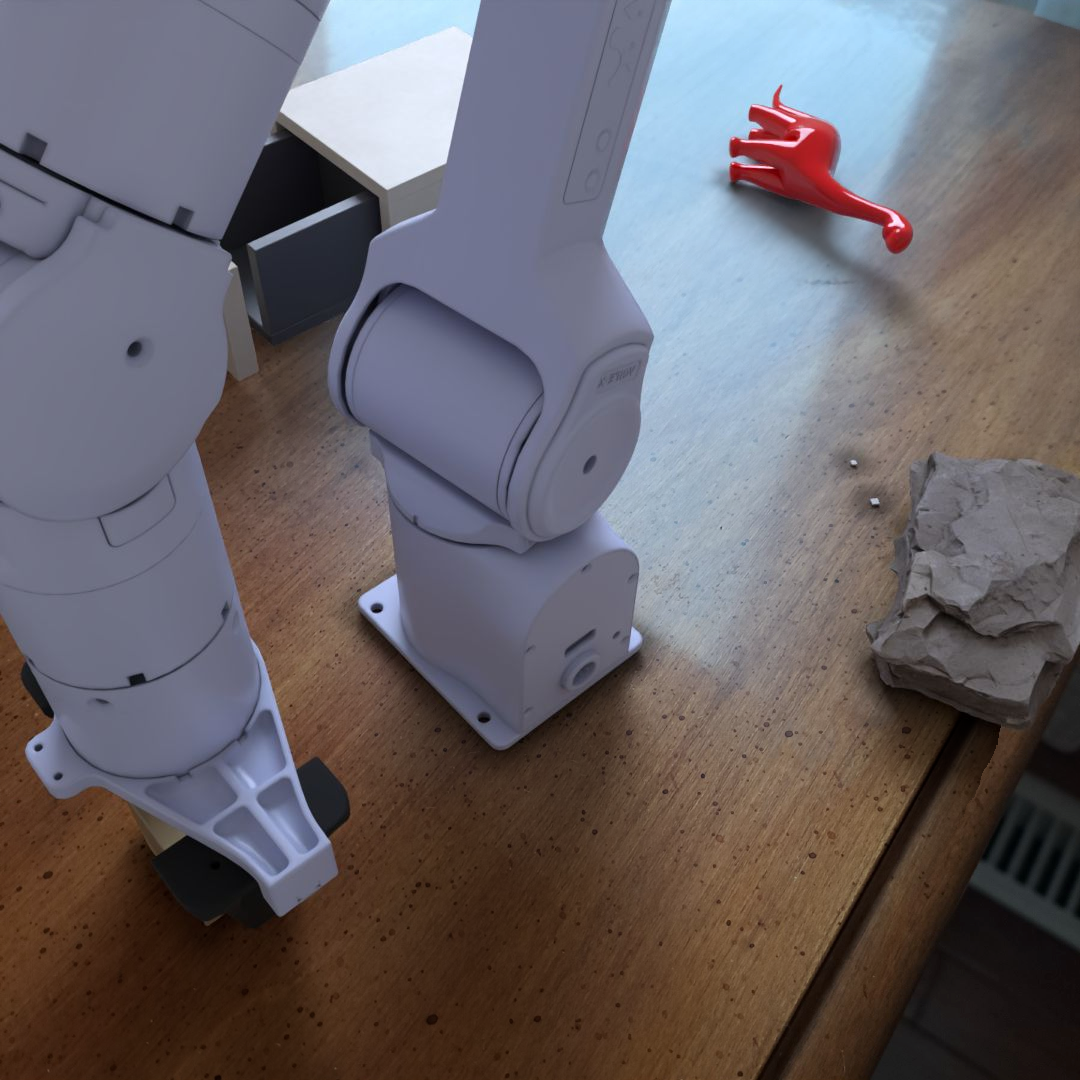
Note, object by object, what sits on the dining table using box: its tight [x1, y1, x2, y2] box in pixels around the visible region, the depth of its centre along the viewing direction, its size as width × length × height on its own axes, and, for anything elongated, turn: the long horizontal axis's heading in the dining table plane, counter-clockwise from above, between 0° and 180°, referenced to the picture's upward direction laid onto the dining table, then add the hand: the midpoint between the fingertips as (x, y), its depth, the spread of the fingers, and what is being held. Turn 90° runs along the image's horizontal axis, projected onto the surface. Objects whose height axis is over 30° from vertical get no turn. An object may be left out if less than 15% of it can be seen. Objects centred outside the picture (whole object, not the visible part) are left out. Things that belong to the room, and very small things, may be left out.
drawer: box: [219, 128, 382, 382], centre depth 60 cm, size 16×9×6 cm, turn 131°
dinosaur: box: [728, 84, 914, 255], centre depth 70 cm, size 4×15×12 cm
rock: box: [865, 451, 1080, 731], centre depth 50 cm, size 14×9×4 cm
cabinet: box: [269, 25, 473, 232], centre depth 65 cm, size 13×11×8 cm
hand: (219, 834), depth 42 cm, fingers open, 6 cm apart
